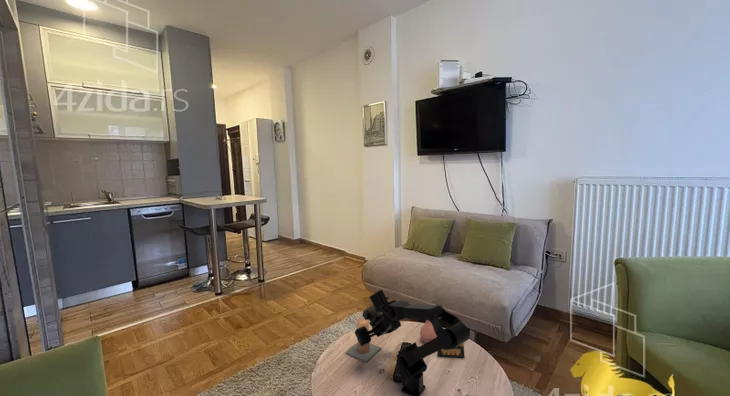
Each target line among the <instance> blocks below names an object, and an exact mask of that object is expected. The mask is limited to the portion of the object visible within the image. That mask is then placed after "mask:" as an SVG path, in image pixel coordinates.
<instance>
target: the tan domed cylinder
mask: <svg viewBox="0 0 730 396" xmlns="http://www.w3.org/2000/svg"><path fill="white" fill-rule="evenodd" d="M369 323H370V321H369V320H365V318H364V317H361V318H358V319H357V320H356V329H358V328H360V327H362V326H365V327H366V329H367V331H370V324H369ZM356 339H357V338H356ZM356 341H357V343H358V352H359V353H362V354H365V353H368V352H369V351H370V343H371V342H370V343H368V344H366V345H364V346H361V345H360V343H359V341H358V339H357V340H356Z"/></svg>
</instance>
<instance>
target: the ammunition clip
mask: <svg viewBox="0 0 730 396" xmlns="http://www.w3.org/2000/svg"><path fill="white" fill-rule="evenodd" d="M436 354H437V357H438V358H449V359H462V360H463V359H465V357H466V355H465V342H464V343H463V344H461V345H459V346H458V347H456V348H455V349H451V350H444V349H441V350H439V351H437V352H436Z"/></svg>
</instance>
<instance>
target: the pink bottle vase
mask: <svg viewBox="0 0 730 396" xmlns="http://www.w3.org/2000/svg"><path fill="white" fill-rule="evenodd" d="M419 336H420V339H421V341H422V342H424V343H426V342H428V341H430V340H432V339H434V338H436V337H437V335H436V334H435V332H434V328H433V325H432V323H431V322H430V321H429V320H425V323H424V325H422V326H421V327H420V332H419Z"/></svg>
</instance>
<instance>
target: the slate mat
mask: <svg viewBox="0 0 730 396" xmlns="http://www.w3.org/2000/svg"><path fill="white" fill-rule="evenodd" d="M381 351H382V347H381V346H378V345H375V344H373V343H371V342H370V351H369V352H368V353H365V354H362V353H359V352H358V342H357V343H355V344H354V345H353V346H351V347H350V348H349V349H348V350H346V352H345V355H347V356H350V357H352V358H354V359H357V360H358V361H361V362H364V363H365V364H367V363H368V362H369V361H370V360H371V359H372V358H374V357H375V356H376V355H377V354H378V353H379V352H381Z"/></svg>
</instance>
